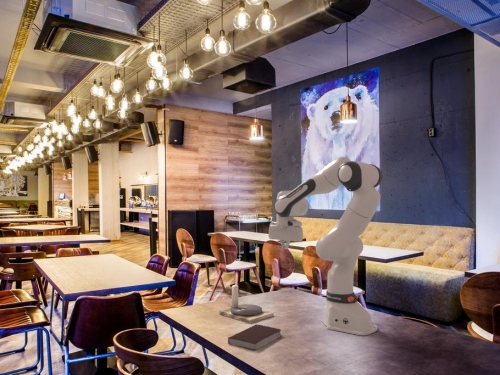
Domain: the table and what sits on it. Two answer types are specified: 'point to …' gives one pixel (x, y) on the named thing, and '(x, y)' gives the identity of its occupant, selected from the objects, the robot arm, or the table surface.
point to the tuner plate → (247, 316)
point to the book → (254, 337)
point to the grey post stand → (244, 308)
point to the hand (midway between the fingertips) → (285, 249)
